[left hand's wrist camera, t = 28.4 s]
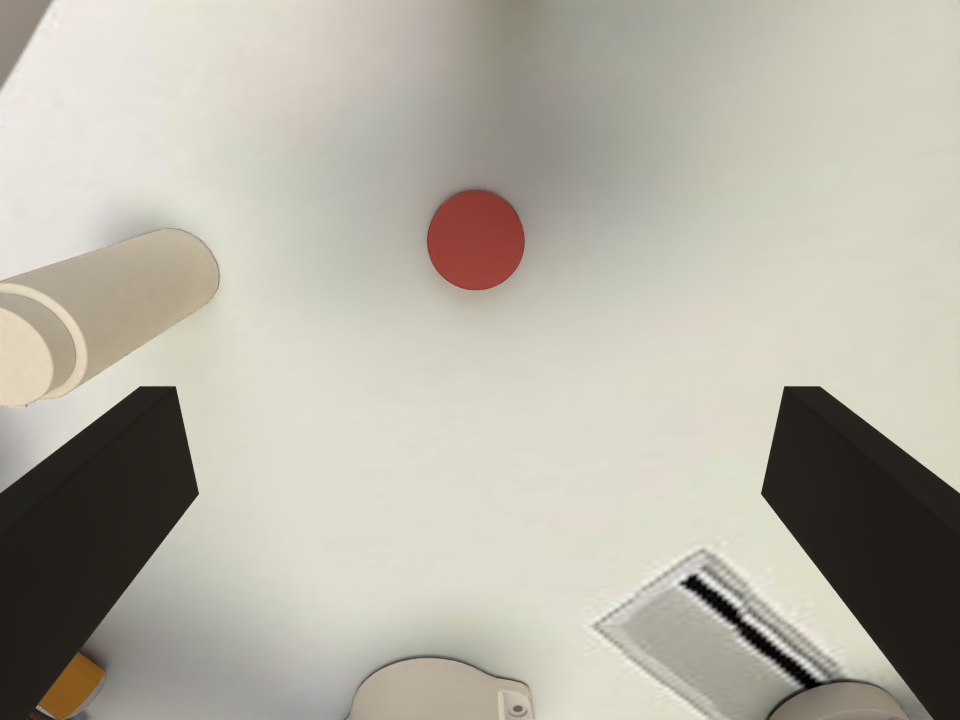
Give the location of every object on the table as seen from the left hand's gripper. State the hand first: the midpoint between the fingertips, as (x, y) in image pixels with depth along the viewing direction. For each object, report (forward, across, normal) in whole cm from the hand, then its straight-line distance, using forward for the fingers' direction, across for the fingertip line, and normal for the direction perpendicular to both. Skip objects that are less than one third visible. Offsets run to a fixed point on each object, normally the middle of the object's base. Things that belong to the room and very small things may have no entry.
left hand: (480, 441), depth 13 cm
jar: (+26, +20, +2) cm, 33 cm away
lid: (+25, 0, 0) cm, 25 cm away
